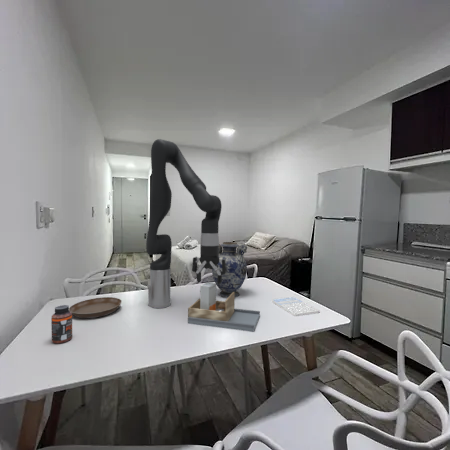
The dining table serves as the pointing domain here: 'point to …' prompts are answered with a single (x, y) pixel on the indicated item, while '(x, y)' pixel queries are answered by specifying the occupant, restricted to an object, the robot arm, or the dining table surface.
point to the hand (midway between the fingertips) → (209, 283)
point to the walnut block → (222, 306)
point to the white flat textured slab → (295, 306)
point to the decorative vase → (231, 268)
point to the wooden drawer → (211, 314)
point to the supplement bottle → (61, 324)
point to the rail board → (232, 320)
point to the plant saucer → (95, 307)
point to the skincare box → (208, 296)
